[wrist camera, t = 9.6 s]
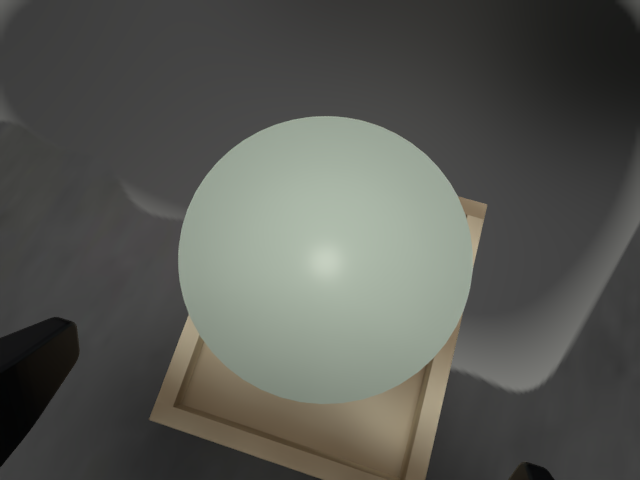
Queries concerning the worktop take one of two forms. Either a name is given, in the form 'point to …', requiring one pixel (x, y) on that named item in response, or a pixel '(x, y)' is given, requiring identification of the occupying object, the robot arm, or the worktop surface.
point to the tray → (312, 411)
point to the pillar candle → (325, 260)
